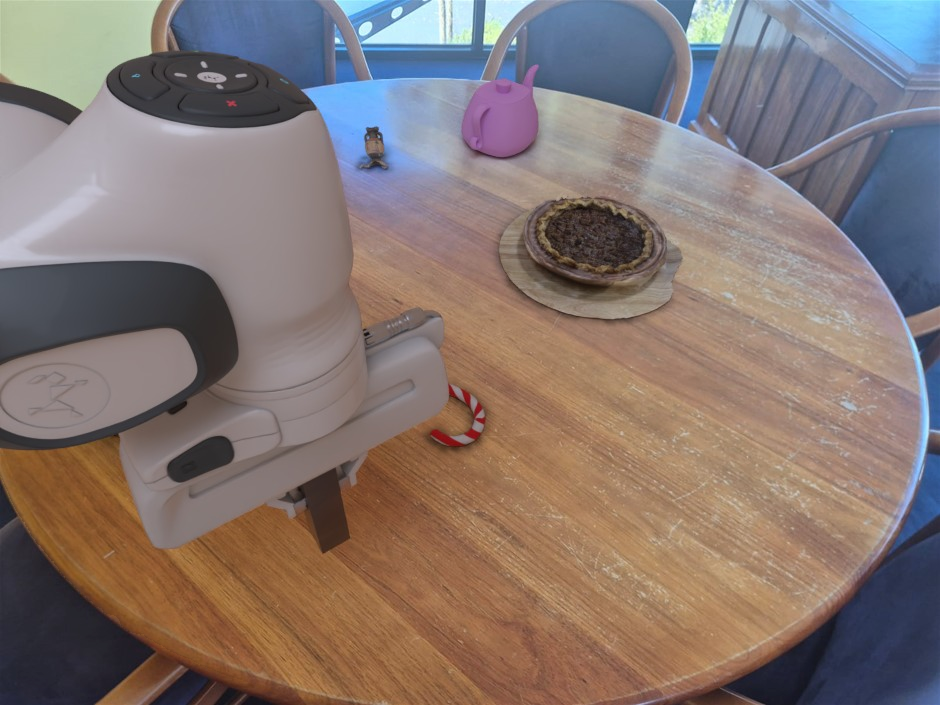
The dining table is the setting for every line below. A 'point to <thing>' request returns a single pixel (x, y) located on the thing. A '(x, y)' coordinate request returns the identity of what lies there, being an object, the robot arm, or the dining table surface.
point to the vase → (374, 147)
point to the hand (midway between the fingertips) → (319, 494)
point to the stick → (325, 511)
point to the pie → (590, 257)
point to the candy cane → (477, 425)
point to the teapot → (502, 117)
